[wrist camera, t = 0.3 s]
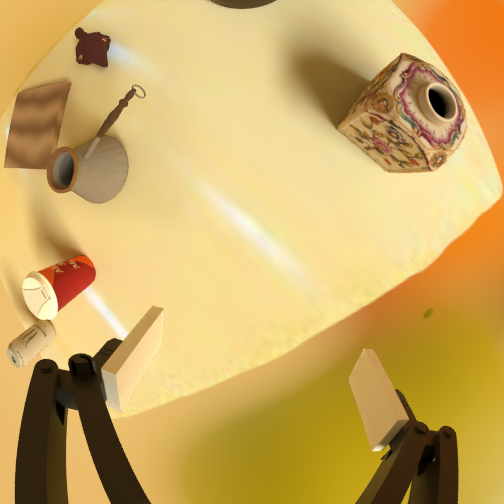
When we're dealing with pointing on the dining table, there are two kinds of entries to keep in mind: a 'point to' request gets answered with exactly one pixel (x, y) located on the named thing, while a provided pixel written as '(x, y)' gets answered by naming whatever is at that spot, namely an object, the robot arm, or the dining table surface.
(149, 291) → the dining table surface
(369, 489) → the robot arm
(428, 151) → the decorative jar
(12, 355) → the energy drink can
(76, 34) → the icecream
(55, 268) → the coffee cup
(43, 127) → the serving board
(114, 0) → the dining table surface
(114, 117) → the coffee pot
